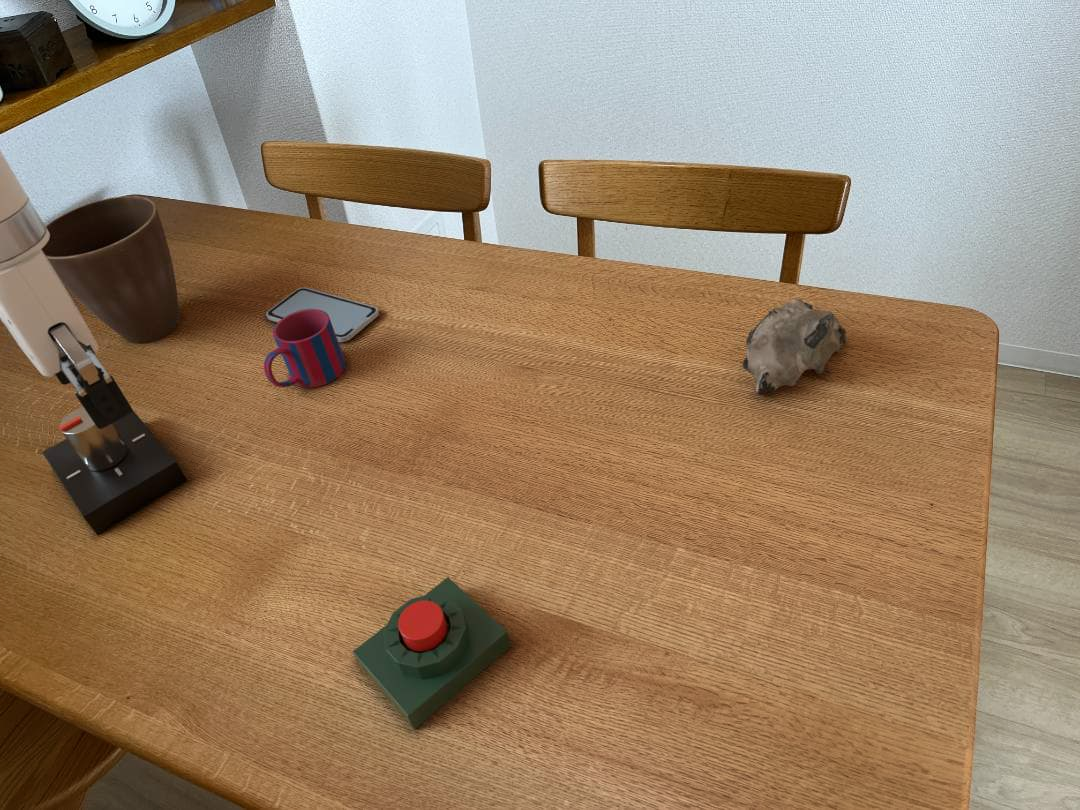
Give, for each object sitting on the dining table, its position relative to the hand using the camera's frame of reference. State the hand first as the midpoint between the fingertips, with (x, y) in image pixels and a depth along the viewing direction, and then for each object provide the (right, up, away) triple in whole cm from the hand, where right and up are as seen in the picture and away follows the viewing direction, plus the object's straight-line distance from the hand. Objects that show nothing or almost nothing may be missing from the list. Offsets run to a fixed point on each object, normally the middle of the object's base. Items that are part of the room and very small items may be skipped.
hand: (96, 397), depth 75 cm
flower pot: (-12, +10, +36) cm, 39 cm away
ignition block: (+33, -22, -8) cm, 40 cm away
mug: (+13, +2, +23) cm, 27 cm away
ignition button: (+32, -19, -11) cm, 39 cm away
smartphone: (+12, +11, +32) cm, 36 cm away
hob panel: (-5, -9, +14) cm, 17 cm away
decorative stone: (+69, +3, +13) cm, 70 cm away
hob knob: (-5, -6, +12) cm, 14 cm away
